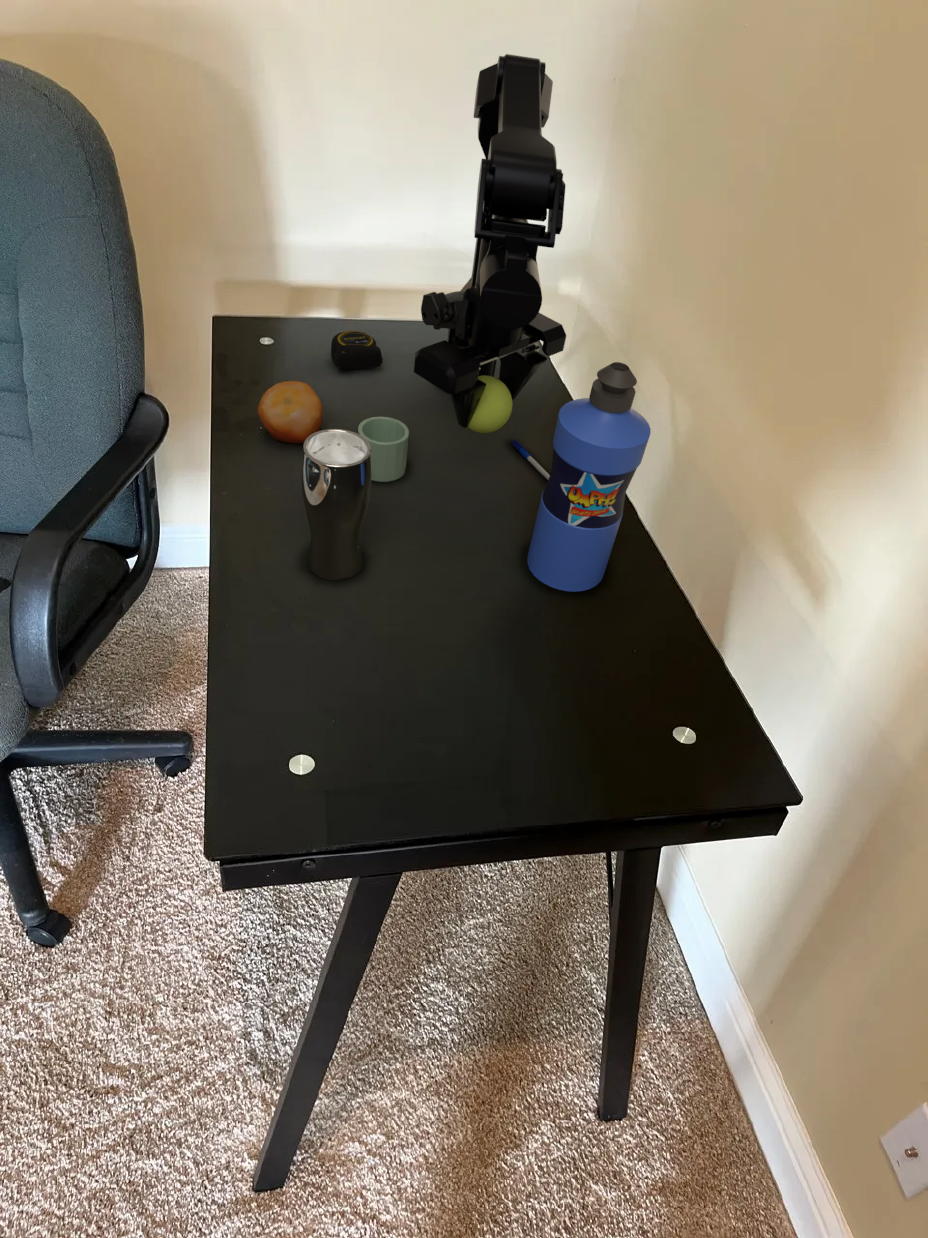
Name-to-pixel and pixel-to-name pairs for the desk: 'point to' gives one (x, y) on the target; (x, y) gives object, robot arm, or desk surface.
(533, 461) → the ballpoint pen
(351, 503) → the metal tumbler
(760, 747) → the desk surface
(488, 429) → the ball
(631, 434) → the blue squeeze bottle
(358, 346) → the tape measure
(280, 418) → the fruit
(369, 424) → the cup
